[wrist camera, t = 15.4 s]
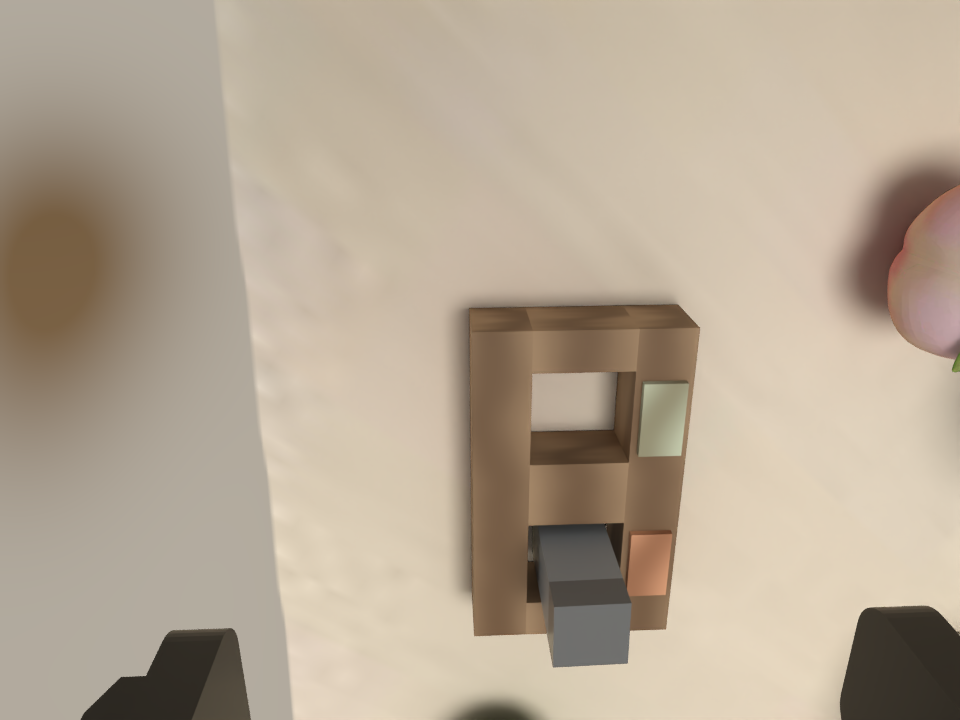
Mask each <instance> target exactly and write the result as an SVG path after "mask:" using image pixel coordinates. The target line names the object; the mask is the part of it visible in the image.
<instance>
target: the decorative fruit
mask: <svg viewBox="0 0 960 720" xmlns="http://www.w3.org/2000/svg"><path fill="white" fill-rule="evenodd" d="M887 297H888V307H889V312H890V315H891V319H892V321H893V323H894V325H895V327H896V329H897V331H898V332H899V333H900V334H901V335H902V337H903V338H905V339H906V340H907V341H908V342H909V343H911V344H912V345H914V346H915V347H917V348H919V349H921V350H924V351H926V352H929V353H932V354H935V355H938V356H941V357H945V358H950V359H956V360H955V362H954V365H953V368H952V372H959V371H960V185H958V186H956V187H954V188H952V189H951V190H949V191H947V192H945V193H944V194H943V195H941V196H940V197H938V198H937V199H935V200H934V201H933V202H932V203H931V204H930V205H929V206H927V207H926V208H925V209H924V210H923V211H922V212H921V213H920V214H919V215H918V216H917V218H916V219H915V220H914V221H913V222H912V224H911V225H910V227H909V228H908V230H907V232H906V234H905V237H904V244H903V249H902V250H901V251H900V253H899V254H898V255H897V256H896V257H895V259H894V261H893V263H892V265H891V267H890V270H889V276H888V291H887Z"/></svg>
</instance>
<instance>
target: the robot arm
mask: <svg viewBox="0 0 960 720" xmlns="http://www.w3.org/2000/svg"><path fill="white" fill-rule="evenodd" d="M840 712H841V719H842V720H960V635H959V634H958V633H957V632H956V631H955V630H954V628H953V627H952V626H951V625H950V624H949V623H948V622H947V621H946V620H945V618H944V617H943V616H942V615H941V614H940V613H939V612H938V611H936V610H935V609H933V608H931V607H929V606H902V607H874V608H867V609H865V610H864V611H863V612H862V613H861V615H860V617H859V620H858V623H857V628H856V632H855V636H854V640H853V645H852V649H851V653H850V658H849V662H848V666H847V670H846V675H845V679H844V683H843V688H842V692H841V698H840ZM81 720H251V718H250V711H249V705H248V699H247V693H246V686H245V680H244V674H243V668H242V662H241V656H240V649H239V643H238V638H237V635H236V633H235V631H234V630H233V629H231V628H228V629H227V628H226V629H198V630H173V631H171V632H169V633H168V634H167V635H166V637H165V638H164V640H163V642H162V644H161V646H160V648H159V650H158V652H157V654H156V656H155V658H154V660H153V662H152V665H151V667H150V669H149V671H148V673H147V675H146V676H138V677H121V678H120V679H119V680H118V681H117V682H116V683H115V684H113V685H112V686H111V687H110V688H109V689H108V690H107V691H106V692H105V693H104V695H102V696H101V697H100V698H99V699H98V700H97V701H96V702H95V703H94V704H93V705H92V706H91V707H90V708H89V709H88V710H87V711H86V712H85V713H84V714H83V716H82V718H81Z"/></svg>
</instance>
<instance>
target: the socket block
mask: <svg viewBox="0 0 960 720" xmlns="http://www.w3.org/2000/svg"><path fill="white" fill-rule="evenodd" d="M699 334H700V327H699V326H698V325H697V324H696V323H695V322H694V321H693V320H692V319H691V318H690V317H689V316H688V315H687V314H686V313H685V311H684V310H683V309H682V308H681V307H680V306H679V305H626V306H570V307H513V308H469V337H470V442H471V547H472V604H473V622H474V636H491V635H519V634H547V631H546V626H545V620H544V614H543V609H542V603H541V598H540V592H539V587H538V581H537V575H536V570H535V564H534V562H528V526H533V525H567V524H601V523H607V533H608V536H609V539H610V542H611V545H612V548H613V551H614V554H615V556H616V559H617V562H618V565H619V568H620V571H621V574H622V577H623V580H624V583H625V586H626V588H627V591H628V594H629V597H630V600H631V603H632V605H631V620H630V631H631V630H660V629H666V624H667V615H668V606H669V597H670V589H671V580H672V571H673V562H674V553H675V545H676V536H677V527H678V518H679V510H680V501H681V492H682V483H683V474H684V466H685V457H686V448H687V439H688V430H689V422H690V413H691V404H692V395H693V386H694V378H695V369H696V360H697V351H698V342H699ZM584 372H618V380H617V394H616V408H615V422H614V430H595V431H554V432H531V400H532V374H537V373H584Z"/></svg>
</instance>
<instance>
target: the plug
mask: <svg viewBox="0 0 960 720" xmlns="http://www.w3.org/2000/svg"><path fill="white" fill-rule="evenodd" d="M532 553H533V559H534V564H535V570H536V575H537V581H538V587H539V592H540V598H541V603H542V609H543V614H544V620H545V626H546V631H547V637H548V642H549V648H550V653H551V659H552V665H553V667H571V666H589V665H608V664H627V663H628V650H629V635H630V620H631V605H632V603H631V600H630V597H629V594H628V591H627V588H626V586H625V583H624V580H623V577H622V574H621V571H620V568H619V565H618V562H617V559H616V556H615V554H614V551H613V548H612V545H611V542H610V539H609V536H608V533H607V530H606V527H605V524H604V523H601V524H567V525H533V526H532Z"/></svg>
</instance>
